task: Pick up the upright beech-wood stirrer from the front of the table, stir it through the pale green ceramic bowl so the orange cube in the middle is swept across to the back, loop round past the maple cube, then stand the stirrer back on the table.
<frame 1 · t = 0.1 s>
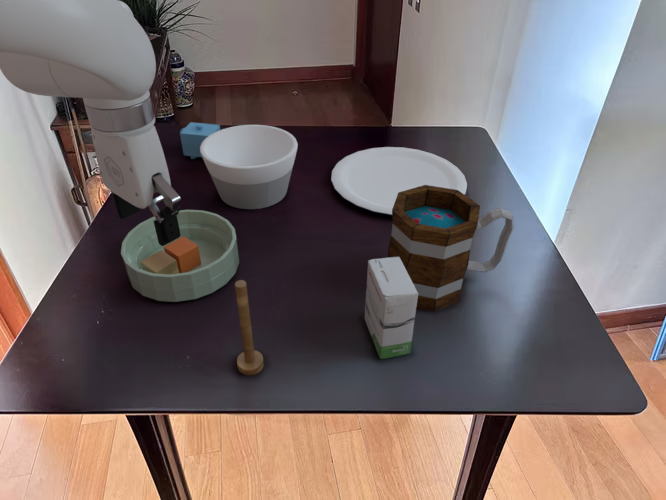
hand: (149, 227, 73), 14 cm above the table, tool pointing down, fingers open, 9 cm apart
mug: (441, 283, 87), on the table
orange block: (184, 264, 88), point 1 cm above the table, touching stir bowl
bowl: (253, 192, 109), on the table
stirrer: (250, 365, 72), on the table
ink box: (385, 336, 77), on the table
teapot: (207, 155, 121), on the table
maple block: (163, 279, 85), point 1 cm above the table, touching stir bowl
plate: (397, 184, 112), on the table
stir bowl: (185, 268, 88), on the table
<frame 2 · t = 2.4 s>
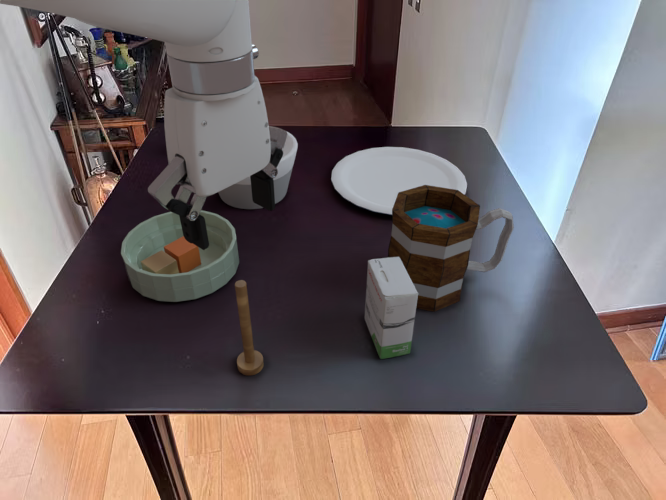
hand: (232, 223, 57), 24 cm above the table, tool pointing down, fingers open, 9 cm apart
nothing on the table moved.
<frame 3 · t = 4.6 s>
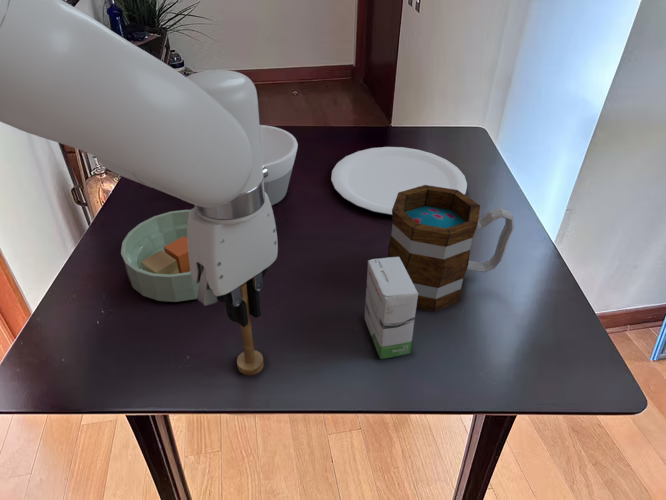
hand: (244, 315, 66), 10 cm above the table, tool pointing down, fingers closed on stirrer
stirrer: (250, 365, 72), on the table, touching gripper
everything else where it was.
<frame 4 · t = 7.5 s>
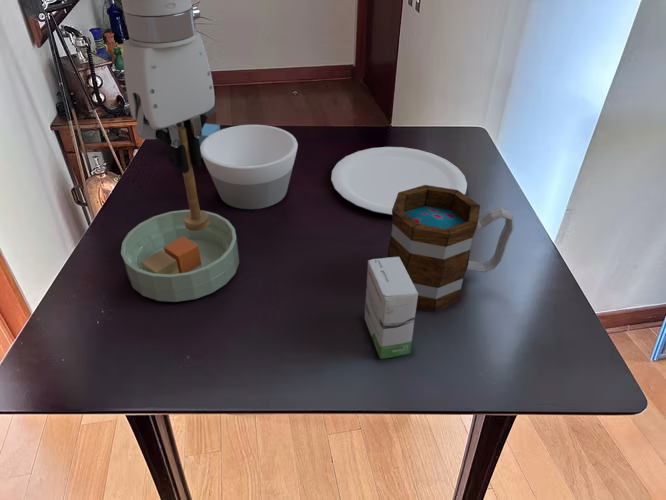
hand: (186, 165, 71), 22 cm above the table, tool pointing down, fingers closed on stirrer
stirrer: (197, 223, 77), point 13 cm above the table, touching gripper
everything else where it was.
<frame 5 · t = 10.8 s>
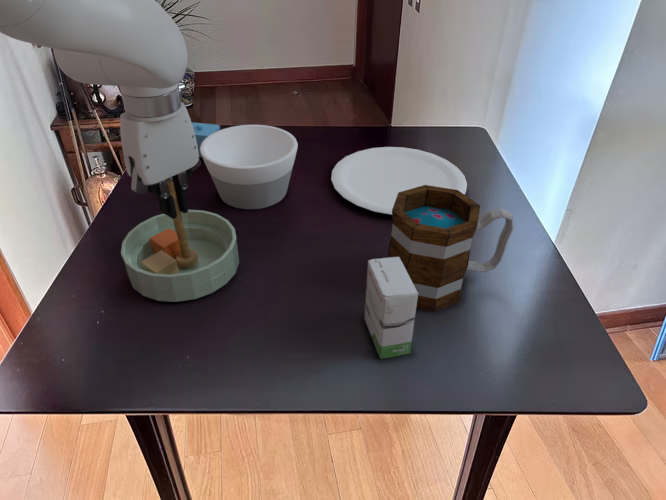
hand: (175, 211, 82), 11 cm above the table, tool pointing down, fingers closed on stirrer
orange block: (170, 255, 90), point 1 cm above the table, touching stir bowl
stirrer: (188, 261, 87), point 1 cm above the table, touching gripper
everything else where it was.
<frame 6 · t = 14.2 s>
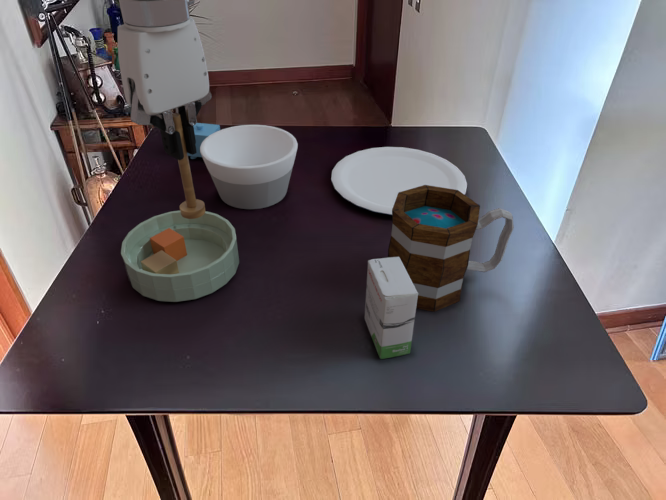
hand: (181, 153, 71), 24 cm above the table, tool pointing down, fingers closed on stirrer
stirrer: (193, 212, 77), point 14 cm above the table, touching gripper
everything else where it was.
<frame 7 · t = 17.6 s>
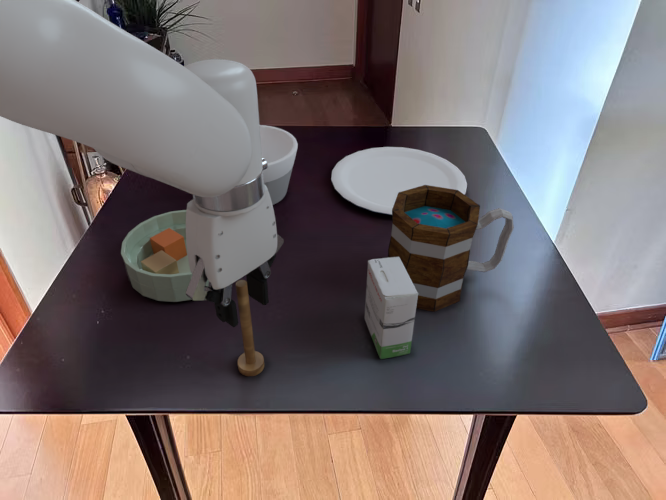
hand: (243, 308, 65), 11 cm above the table, tool pointing down, fingers open, 4 cm apart
stirrer: (251, 366, 72), on the table
everything else where it was.
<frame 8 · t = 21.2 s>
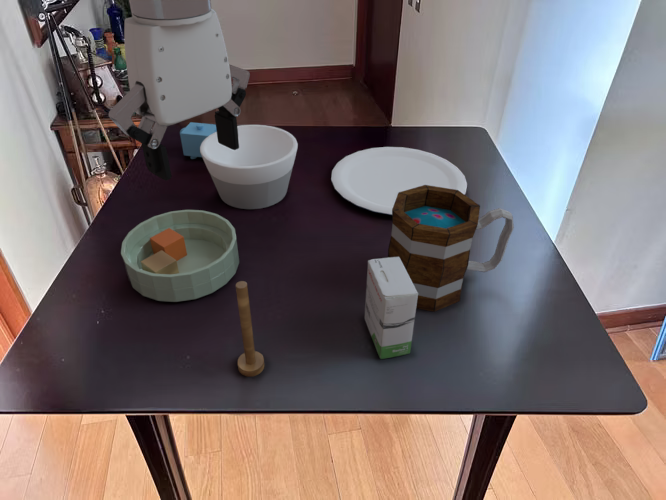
hand: (196, 160, 60), 28 cm above the table, tool pointing down, fingers open, 9 cm apart
nothing on the table moved.
at the end: orange block moved 3.8 cm from its start; orange block inside the target area in the stir bowl (3.8 cm from its centre), point 0.8 cm above the stir bowl's base; stirrer inside the target area (0.2 cm from its centre), on the table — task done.
